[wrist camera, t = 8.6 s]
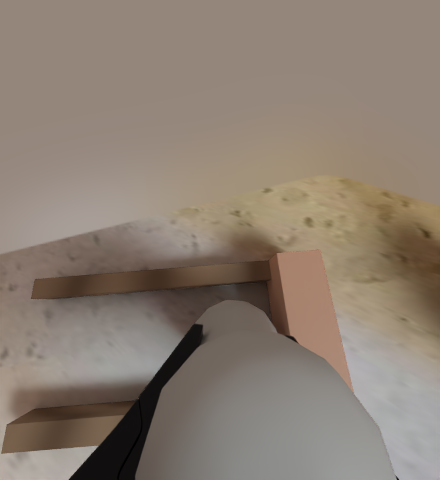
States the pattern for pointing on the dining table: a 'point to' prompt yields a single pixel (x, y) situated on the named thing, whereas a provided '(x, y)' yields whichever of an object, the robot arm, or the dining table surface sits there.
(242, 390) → the salt shaker
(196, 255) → the dining table surface
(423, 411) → the dining table surface
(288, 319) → the end stop
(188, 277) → the guide rails
